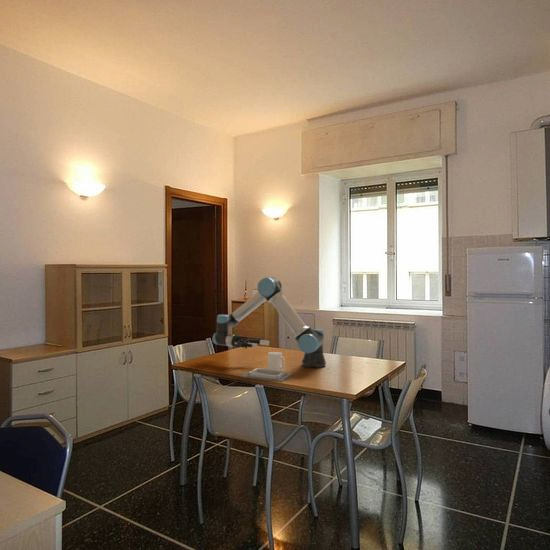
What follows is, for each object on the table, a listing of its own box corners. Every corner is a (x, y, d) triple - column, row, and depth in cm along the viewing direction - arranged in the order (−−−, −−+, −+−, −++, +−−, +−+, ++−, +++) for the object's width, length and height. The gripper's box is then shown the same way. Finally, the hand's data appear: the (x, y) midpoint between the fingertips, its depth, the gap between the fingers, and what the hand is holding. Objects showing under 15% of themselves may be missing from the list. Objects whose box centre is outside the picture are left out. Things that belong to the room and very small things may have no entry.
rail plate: (292, 374, 255) (292, 370, 255) (281, 382, 238) (282, 377, 238) (253, 370, 263) (253, 366, 263) (241, 377, 246) (241, 373, 246)
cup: (274, 368, 273) (274, 351, 272) (289, 371, 265) (289, 354, 264) (264, 370, 266) (265, 353, 266) (280, 373, 258) (280, 355, 258)
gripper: (245, 344, 292) (273, 348, 281) (222, 349, 270) (251, 353, 260) (245, 332, 292) (273, 336, 281) (222, 337, 270) (251, 341, 260)
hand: (263, 344), depth 270 cm, fingers open, 13 cm apart
